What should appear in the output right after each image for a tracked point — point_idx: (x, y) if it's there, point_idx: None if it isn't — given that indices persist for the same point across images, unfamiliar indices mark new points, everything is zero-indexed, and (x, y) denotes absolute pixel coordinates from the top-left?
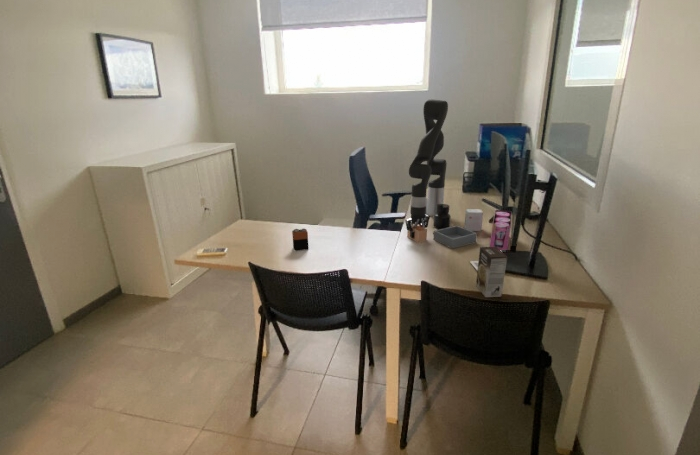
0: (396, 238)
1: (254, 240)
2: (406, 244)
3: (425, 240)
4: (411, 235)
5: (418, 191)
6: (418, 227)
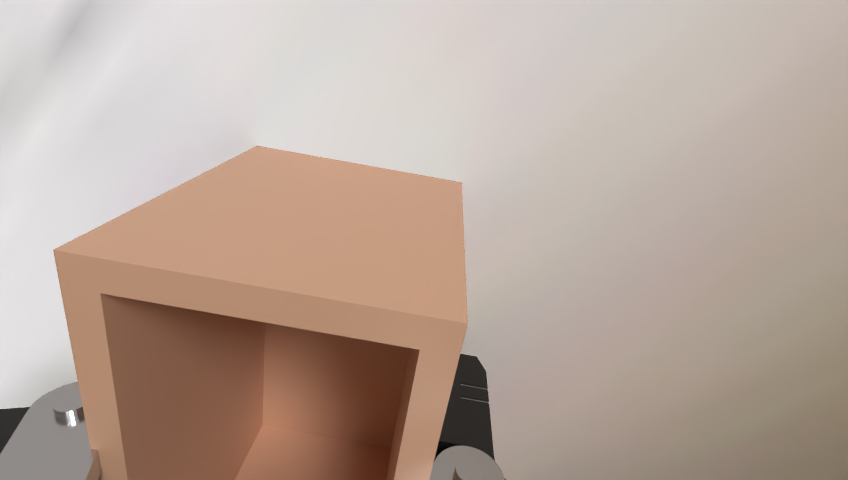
0: (2, 47)
1: None
2: (45, 354)
3: (383, 451)
4: None
5: None
6: (398, 444)
